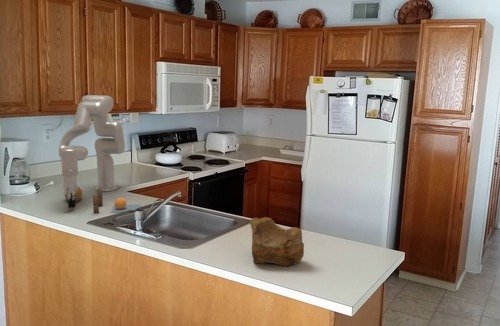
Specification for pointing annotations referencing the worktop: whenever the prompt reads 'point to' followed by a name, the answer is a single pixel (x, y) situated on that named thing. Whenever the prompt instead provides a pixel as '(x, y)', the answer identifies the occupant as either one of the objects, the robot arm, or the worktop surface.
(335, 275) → the worktop surface
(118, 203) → the ball
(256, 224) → the rough brown rock
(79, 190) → the potato
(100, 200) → the inner post
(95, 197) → the outer post
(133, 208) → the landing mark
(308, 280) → the worktop surface
